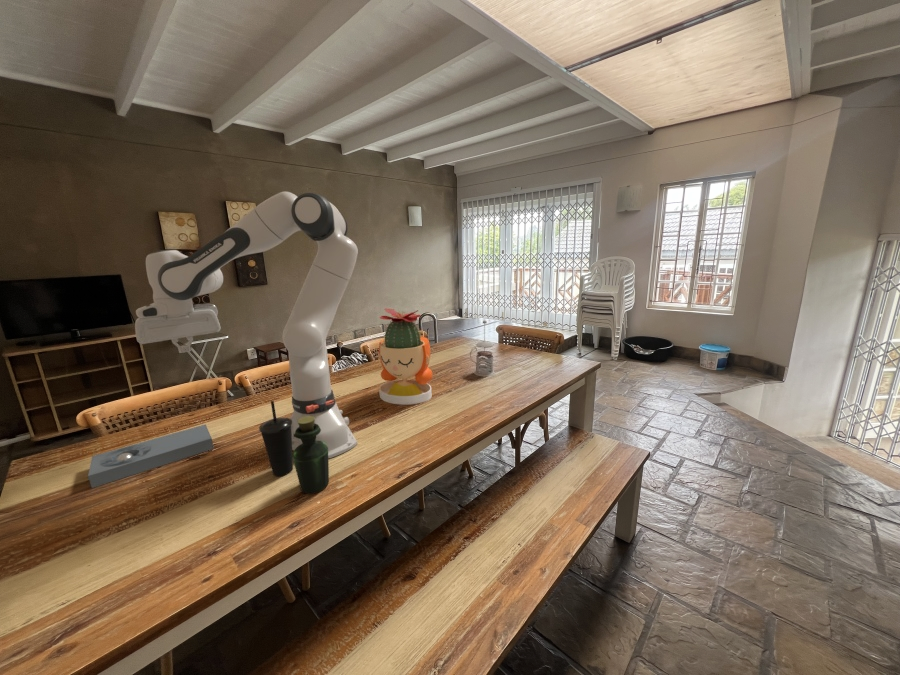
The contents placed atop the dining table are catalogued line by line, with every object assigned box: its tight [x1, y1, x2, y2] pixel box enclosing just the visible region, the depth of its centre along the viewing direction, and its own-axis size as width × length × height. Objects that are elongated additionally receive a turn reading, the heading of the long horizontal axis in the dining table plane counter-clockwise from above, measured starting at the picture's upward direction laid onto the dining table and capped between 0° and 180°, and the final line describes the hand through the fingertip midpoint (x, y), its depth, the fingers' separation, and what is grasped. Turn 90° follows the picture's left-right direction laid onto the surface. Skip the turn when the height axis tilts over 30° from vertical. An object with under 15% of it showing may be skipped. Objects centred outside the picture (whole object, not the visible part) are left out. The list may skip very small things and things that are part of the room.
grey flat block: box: [87, 423, 215, 489], centre depth 100 cm, size 26×12×4 cm, turn 131°
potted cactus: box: [377, 308, 434, 406], centre depth 138 cm, size 22×22×35 cm
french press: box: [469, 320, 496, 377], centre depth 160 cm, size 10×12×25 cm
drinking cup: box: [258, 400, 294, 477], centre depth 90 cm, size 8×8×20 cm
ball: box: [115, 453, 134, 461], centre depth 96 cm, size 4×4×4 cm
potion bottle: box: [292, 416, 330, 495], centre depth 84 cm, size 8×8×18 cm
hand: (185, 351), depth 106 cm, fingers closed
